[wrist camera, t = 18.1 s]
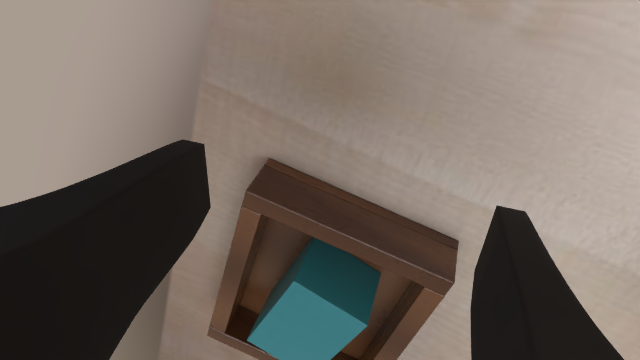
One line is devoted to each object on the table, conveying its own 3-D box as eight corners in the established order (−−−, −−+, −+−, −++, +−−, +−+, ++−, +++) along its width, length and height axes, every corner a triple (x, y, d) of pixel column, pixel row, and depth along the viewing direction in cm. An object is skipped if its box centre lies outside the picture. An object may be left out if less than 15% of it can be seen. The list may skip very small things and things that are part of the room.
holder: (370, 366, 30) (361, 407, 28) (227, 300, 31) (206, 336, 29) (458, 241, 23) (455, 283, 21) (268, 157, 24) (245, 190, 21)
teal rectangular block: (270, 292, 28) (246, 340, 26) (315, 232, 25) (293, 281, 22) (328, 327, 29) (310, 378, 26) (381, 272, 25) (367, 326, 22)
